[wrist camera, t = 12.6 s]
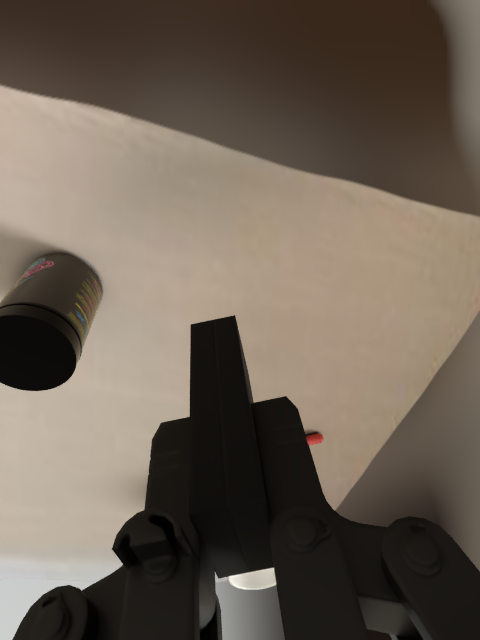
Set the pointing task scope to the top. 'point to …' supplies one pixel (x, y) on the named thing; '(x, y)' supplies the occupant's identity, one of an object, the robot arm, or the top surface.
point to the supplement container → (47, 322)
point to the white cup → (254, 579)
